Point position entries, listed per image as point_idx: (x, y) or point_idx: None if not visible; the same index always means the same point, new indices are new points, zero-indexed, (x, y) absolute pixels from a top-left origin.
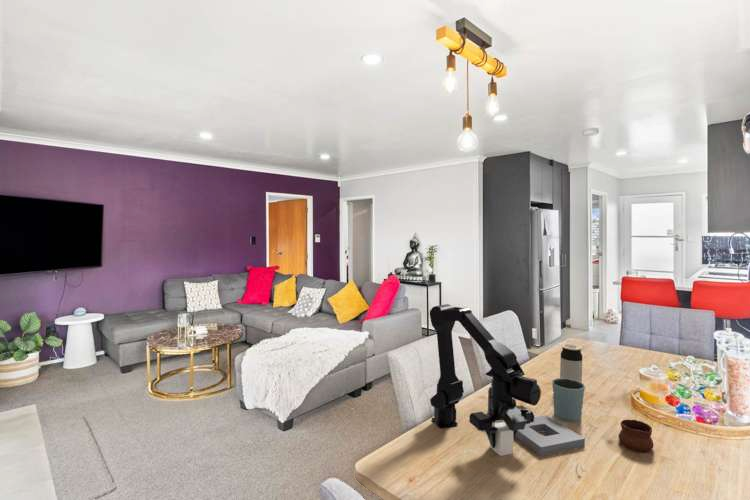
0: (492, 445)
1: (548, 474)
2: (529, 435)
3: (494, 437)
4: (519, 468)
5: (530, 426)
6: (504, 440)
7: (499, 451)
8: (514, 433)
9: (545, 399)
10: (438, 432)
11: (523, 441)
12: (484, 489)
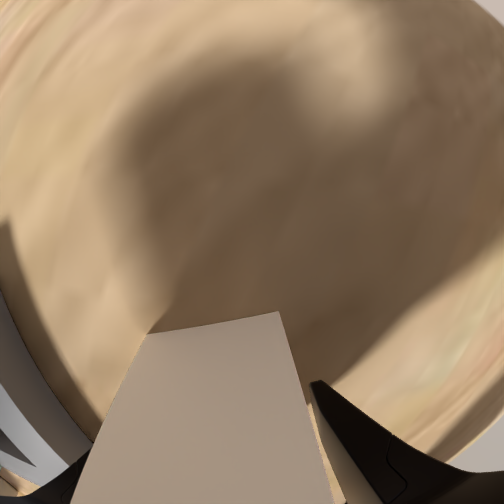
0: (335, 396)
1: (34, 54)
2: (18, 423)
3: (371, 455)
4: (185, 95)
5: (30, 462)
6: (233, 429)
7: (285, 339)
8: (77, 474)
9: (32, 492)
10: (438, 452)
11: (62, 413)
12: (475, 14)
